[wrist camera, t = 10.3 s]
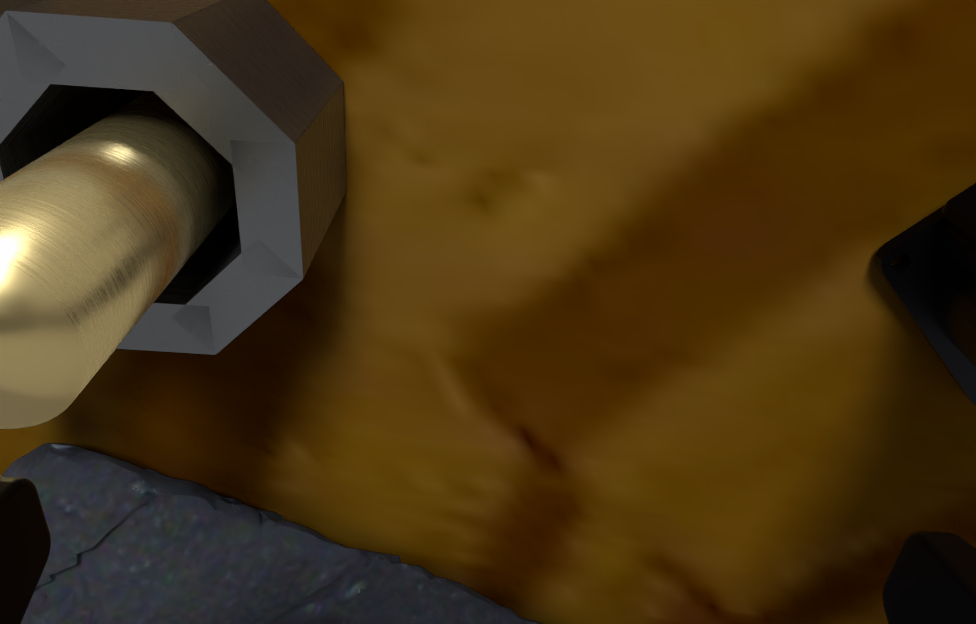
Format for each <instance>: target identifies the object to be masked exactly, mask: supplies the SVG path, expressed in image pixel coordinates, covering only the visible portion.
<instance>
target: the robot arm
mask: <svg viewBox="0 0 976 624" xmlns="http://www.w3.org/2000/svg"><path fill="white" fill-rule="evenodd" d="M901 254H904V257H903V259H902V260H901V261H900V262H899V263H897V264H895V265H891V262H892V260H893V259H894V258H895V257H896V256H898V255H901ZM875 264H876V266H877V268H878V270H879V271H880V273H881V274H882V276H883V277H884V278H885V280H886V281H887V283H888V284H889V286H890V287H891V288H892V290H893V291H894V293H895V294H896V296H897V297H898V299H899V300H900V301H901V303H902V304H903V306H904V307H905V309H906V310H907V312H908V313H909V314H910V316H911V317H912V319H913V320H914V322H915V323H916V325H917V326H918V327H919V329H920V330H921V332H922V333H923V335H924V336H925V338H926V339H927V340H928V342H929V343H930V345H931V346H932V348H933V349H934V351H935V352H936V353H937V355H938V356H939V358H940V359H941V361H942V362H943V363H944V365H945V366H946V368H947V369H948V371H949V372H950V374H951V375H952V376H953V378H954V379H955V381H956V382H957V384H958V385H959V387H960V388H961V389H962V391H963V392H964V394H965V395H966V396H967V397H968V398H969V399H970V400H971V401H972V402H973V403H974V404H975V405H976V183H975V184H974V185H972V186H971V187H969V188H968V189H966V190H965V191H963V192H961V193H960V194H958V195H957V196H955V197H954V198H952V199H951V200H949V201H948V202H947V203H946V204H945V205H944V206H943V207H941V208H940V209H938V210H936V211H935V212H933V213H932V214H930V215H929V216H927V217H926V218H924V219H922V220H921V221H919V222H918V223H916V224H915V225H913V226H912V227H910V228H909V229H907V230H905V231H904V232H902V233H901V234H899V235H898V236H896V237H895V238H893V239H891V240H890V241H888V242H887V243H885V244H884V245H883V246H882V247H881V248H880V249H879V250H878V252H877V254H876V256H875ZM50 548H51V537H50V532H49V528H48V525H47V522H46V518H45V515H44V512H43V509H42V505H41V502H40V499H39V495H38V492H37V489H36V487H35V485H34V484H33V483H32V482H31V481H30V480H29V479H26V478H20V477H3V476H0V624H21V622H22V620H23V617H24V615H25V612H26V610H27V608H28V605H29V603H30V601H31V598H32V596H33V594H34V591H35V589H36V586H37V584H38V582H39V579H40V577H41V575H42V572H43V570H44V568H45V565H46V563H47V560H48V557H49V553H50ZM883 605H884V609H885V613H886V616H887V620H888V623H889V624H976V548H974V547H973V546H972V545H970V544H969V543H967V542H966V541H965V540H963V539H962V538H960V537H959V536H957V535H954V534H951V533H945V532H929V531H916V532H912V533H911V534H910V535H908V536H907V537H906V539H905V540H904V543H903V545H902V547H901V549H900V551H899V553H898V555H897V557H896V559H895V562H894V564H893V566H892V568H891V570H890V572H889V574H888V576H887V579H886V581H885V583H884V588H883Z"/></svg>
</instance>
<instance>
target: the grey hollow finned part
mask: <svg viewBox="0 0 976 624" xmlns="http://www.w3.org/2000/svg"><path fill="white" fill-rule="evenodd" d="M115 88H116V89H130V90H144V91H154V92H155V93H156V94H157V95H158V96H159V97H160V98H161V99H162V100H163V101H164V102H165V103H166V104H167V105H169V106H170V107H171V108H172V109H173V110H174V111H175V112H176V113H177V114H178V115H179V116H180V117H181V118H182V119H184V120H185V121H186V122H187V123H188V124H189V125H190V126H191V127H192V128H193V129H194V130H195V131H196V132H197V133H199V134H200V135H201V136H202V137H203V138H204V139H205V140H206V141H207V142H208V143H209V144H210V145H211V146H212V147H214V148H215V149H216V150H217V151H218V152H219V153H220V154H221V155H222V156H223V157H224V158H225V159H226V160H227V161H229V162H230V163H231V164H232V165H233V174H234V184H235V193H236V203H237V212H227V213H226V214H225V215H224V216H223V218H222V219H221V220H220V221H219V223H218V224H217V225H216V226H215V228H214V229H213V230H212V231H211V232H210V234H209V235H208V236H207V237H206V239H205V240H204V241H203V242H202V244H201V245H200V246H199V247H198V248H197V250H196V251H195V252H194V253H193V255H192V256H191V257H190V258H189V260H188V261H187V262H186V263H185V264H184V266H183V267H182V268H181V269H180V271H179V272H178V273H177V274H176V276H175V277H174V278H173V279H172V280H171V282H170V283H169V284H168V285H167V287H166V288H165V289H164V290H163V292H162V293H161V294H160V295H159V296H158V298H157V299H156V300H155V301H154V303H153V304H152V305H151V306H150V308H149V309H148V310H147V311H146V312H145V314H144V315H143V316H142V317H141V319H140V320H139V321H138V322H137V324H136V325H135V326H134V327H133V328H132V330H131V331H130V332H129V333H128V335H127V336H126V337H125V338H124V340H123V341H122V342H121V343H120V344H119V346H118V347H117V348H116V349H130V350H146V351H162V352H178V353H194V354H210V355H216V354H217V353H218V352H220V351H221V350H222V349H223V348H224V347H225V346H226V345H228V344H229V343H230V342H231V341H232V340H233V339H235V338H236V337H237V336H238V335H239V334H240V333H241V332H243V331H244V330H245V329H246V328H247V327H248V326H250V325H251V324H252V323H253V322H254V321H255V320H256V319H258V318H259V317H260V316H261V315H262V314H263V313H265V312H266V311H267V310H268V309H269V308H270V307H271V306H273V305H274V304H275V303H276V302H277V301H278V300H280V299H281V298H282V297H283V296H284V295H285V294H286V293H288V292H289V291H290V290H291V289H292V288H293V287H295V286H296V285H297V284H298V283H299V282H300V281H301V280H303V278H304V276H305V274H306V272H307V270H308V268H309V266H310V264H311V262H312V260H313V258H314V256H315V254H316V252H317V250H318V248H319V246H320V244H321V242H322V240H323V237H324V235H325V233H326V231H327V229H328V227H329V225H330V223H331V221H332V219H333V217H334V215H335V213H336V211H337V209H338V207H339V205H340V203H341V201H342V199H343V197H344V195H345V193H346V160H345V123H344V87H343V81H342V80H341V78H340V77H339V76H338V75H337V74H336V73H335V72H334V71H333V70H332V69H331V68H330V67H329V66H328V65H327V64H326V63H325V62H324V61H323V59H322V58H321V57H320V56H319V55H318V54H317V53H316V52H315V51H314V50H313V49H312V48H311V47H310V46H309V45H308V44H307V43H306V42H305V40H304V39H303V38H302V37H301V36H300V35H299V34H298V33H297V32H296V31H295V30H294V29H293V28H292V27H291V26H290V25H289V24H288V22H287V21H286V20H285V19H284V18H283V17H282V16H281V15H280V14H279V13H278V12H277V11H276V10H275V9H274V8H273V7H272V6H271V5H270V3H269V2H268V1H267V0H0V182H1V181H2V180H4V179H5V178H7V177H9V176H10V175H12V174H14V173H15V172H17V171H18V170H20V169H22V168H23V167H25V166H27V165H28V164H30V163H32V162H33V161H35V160H36V159H38V158H40V157H41V156H43V155H45V154H46V153H48V152H49V151H51V150H53V149H54V148H56V147H58V146H59V145H61V144H63V143H64V142H66V141H67V140H69V139H71V138H72V137H74V136H76V135H77V134H79V133H80V132H82V131H84V130H85V129H87V128H89V127H90V126H92V125H94V124H95V123H97V122H98V121H100V120H102V119H103V118H105V117H107V116H108V115H110V114H112V113H113V112H115V111H116V110H118V106H117V100H116V94H115Z"/></svg>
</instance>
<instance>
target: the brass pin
mask: <svg viewBox="0 0 976 624" xmlns="http://www.w3.org/2000/svg"><path fill="white" fill-rule="evenodd" d="M235 202H236V193H235V184H234V174H233V165H232V164H231V163H230V162H229V161H227V160H226V159H225V158H224V157H223V156H222V155H221V154H220V153H219V152H218V151H217V150H216V149H215V148H214V147H212V146H211V145H210V144H209V143H208V142H207V141H206V140H205V139H204V138H203V137H202V136H201V135H200V134H199V133H197V132H196V131H195V130H194V129H193V128H192V127H191V126H190V125H189V124H188V123H187V122H186V121H185V120H184V119H182V118H181V117H180V116H179V115H178V114H177V113H176V112H175V111H174V110H173V109H172V108H171V107H170V106H169V105H167V104H166V103H165V102H164V101H163V100H162V99H161V98H160V97H159V96H158V95H157V94H156V93H155V92H154V91H147V92H146V93H144V94H143V95H141V96H139V97H138V98H136V99H134V100H133V101H131V102H129V103H128V104H126V105H125V106H123V107H121V108H120V109H118V110H116V111H115V112H113V113H112V114H110V115H108V116H107V117H105V118H103V119H102V120H100V121H98V122H97V123H95V124H94V125H92V126H90V127H89V128H87V129H85V130H84V131H82V132H80V133H79V134H77V135H76V136H74V137H72V138H71V139H69V140H67V141H66V142H64V143H63V144H61V145H59V146H58V147H56V148H54V149H53V150H51V151H49V152H48V153H46V154H45V155H43V156H41V157H40V158H38V159H36V160H35V161H33V162H32V163H30V164H28V165H27V166H25V167H23V168H22V169H20V170H18V171H17V172H15V173H14V174H12V175H10V176H9V177H7V178H5V179H4V180H2V181H1V182H0V429H15V428H25V427H30V426H35V425H38V424H41V423H44V422H47V421H49V420H51V419H53V418H54V417H56V416H58V415H59V414H61V413H62V412H63V411H65V410H66V409H67V408H68V407H69V406H70V404H71V403H72V402H73V401H74V400H75V399H76V397H77V396H78V395H79V394H80V393H81V391H82V390H83V389H84V388H85V386H86V385H87V384H88V383H89V381H90V380H91V379H92V378H93V377H94V375H95V374H96V373H97V372H98V370H99V369H100V368H101V367H102V365H103V364H104V363H105V362H106V361H107V359H108V358H109V357H110V356H111V354H112V353H113V352H114V351H115V349H116V348H117V347H118V346H119V344H120V343H121V342H122V341H123V340H124V338H125V337H126V336H127V335H128V333H129V332H130V331H131V330H132V328H133V327H134V326H135V325H136V324H137V322H138V321H139V320H140V319H141V317H142V316H143V315H144V314H145V312H146V311H147V310H148V309H149V308H150V306H151V305H152V304H153V303H154V301H155V300H156V299H157V298H158V296H159V295H160V294H161V293H162V292H163V290H164V289H165V288H166V287H167V285H168V284H169V283H170V282H171V280H172V279H173V278H174V277H175V276H176V274H177V273H178V272H179V271H180V269H181V268H182V267H183V266H184V264H185V263H186V262H187V261H188V260H189V258H190V257H191V256H192V255H193V253H194V252H195V251H196V250H197V248H198V247H199V246H200V245H201V244H202V242H203V241H204V240H205V239H206V237H207V236H208V235H209V234H210V232H211V231H212V230H213V229H214V228H215V226H216V225H217V224H218V223H219V221H220V220H221V219H222V218H223V216H224V215H225V214H226V213H227V212H228V210H229V209H230V208H231V207H232V205H233V204H234V203H235Z"/></svg>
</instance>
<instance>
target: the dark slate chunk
mask: <svg viewBox="0 0 976 624" xmlns="http://www.w3.org/2000/svg"><path fill="white" fill-rule="evenodd" d="M2 476H3V477H20V478H26V479H29V480H30V481H31V482H32V483H33V484H34V485H35V487H36V489H37V492H38V495H39V499H40V502H41V505H42V509H43V512H44V515H45V518H46V522H47V525H48V528H49V532H50V537H51V548H50V553H49V557H48V560H47V563H46V565H45V568H44V570H43V572H42V575H41V577H40V579H39V582H38V584H37V586H36V589H35V591H34V594H33V596H32V598H31V601H30V603H29V605H28V608H27V610H26V612H25V615H24V617H23V620H22V622H21V624H541V623H539V622H536V621H533V620H528V619H524V618H522V617H520V616H519V615H517V614H516V613H515V612H513V611H512V610H511V609H509V608H506V607H503V606H500V605H498V604H497V603H495V602H494V601H492V600H491V599H488V598H486V597H484V596H483V595H481V594H479V593H477V592H475V591H473V590H471V589H470V588H468V587H466V586H465V585H463V584H461V583H459V582H455V581H451V580H448V579H445V578H441V577H436V576H434V575H433V574H431V573H430V572H429V571H427V570H426V569H424V568H423V567H421V566H417V565H407V564H404V563H401V560H400V558H399V556H393V555H388V554H383V553H377V552H371V551H365V550H361V549H353V548H347V547H345V546H343V545H341V544H338V543H336V542H333V541H331V540H329V539H328V538H326V537H324V536H323V535H321V534H320V533H318V532H316V531H314V530H312V529H309V528H307V527H304V526H302V525H300V524H297V523H294V522H290V521H284V518H283V517H282V516H281V515H279V514H277V513H275V512H273V511H263V510H258V509H255V508H252V507H248V506H246V505H245V504H244V503H242V502H241V501H239V500H235V499H231V498H225V497H222V496H220V495H217V494H216V493H214V492H213V491H211V490H210V489H208V488H206V487H204V486H202V485H200V484H198V483H195V482H191V481H186V480H179V479H174V478H170V477H167V476H164V475H161V474H159V473H157V472H156V471H154V470H151V469H145V470H144V469H142V468H140V467H138V466H135V465H133V464H130V463H128V462H125V461H122V460H119V459H116V458H113V457H110V456H107V455H103V454H100V453H97V452H93V451H90V450H87V449H84V448H81V447H78V446H75V445H71V444H64V443H47V444H43V445H41V446H39V447H38V448H36V449H34V450H33V451H31V452H30V453H28V454H26V455H24V456H22V457H21V458H19V459H17V460H16V461H15V462H13V463H12V464H11V465H10V466H9V467H8V469H7V470H6V471H5V472H4V473H3V475H2ZM285 518H286V517H285Z"/></svg>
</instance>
